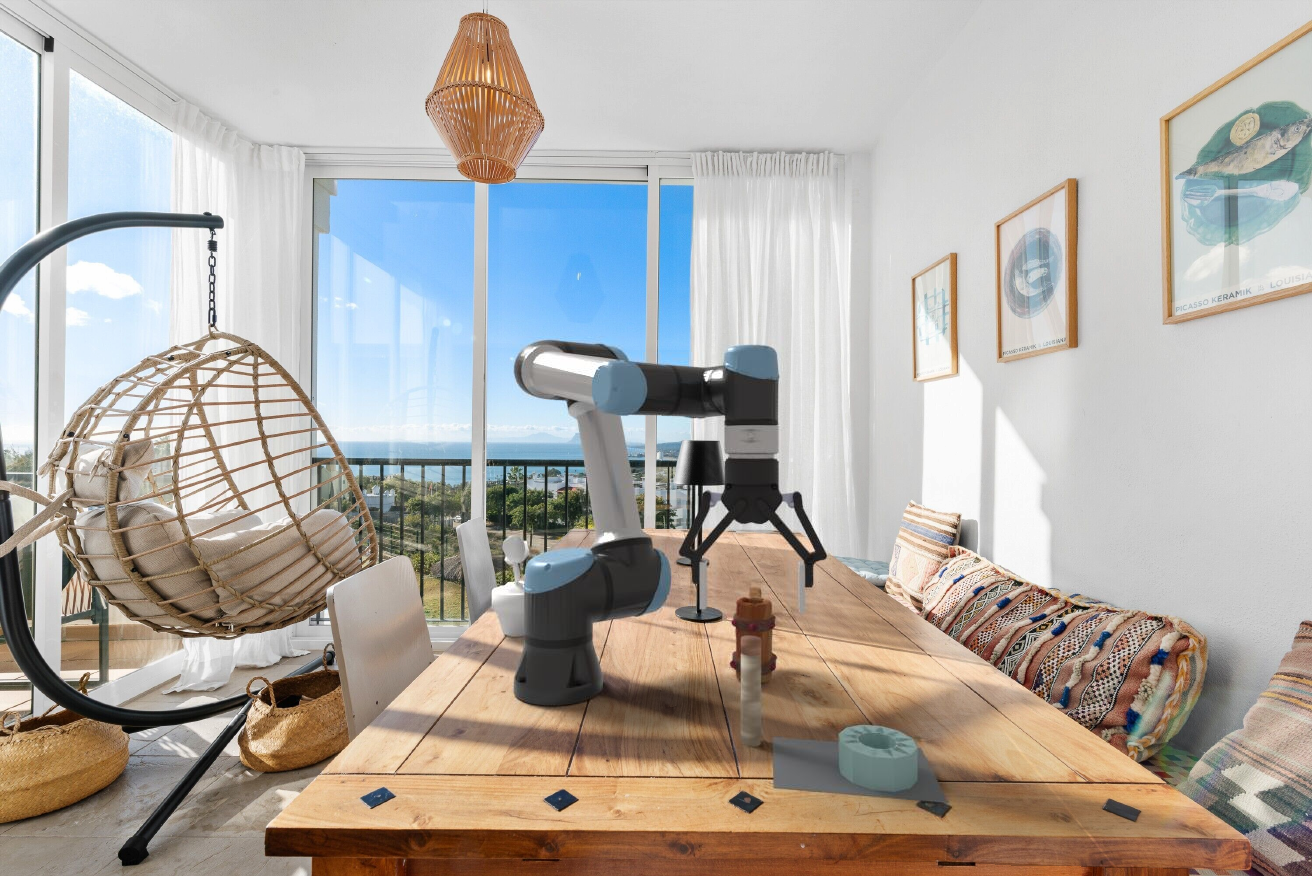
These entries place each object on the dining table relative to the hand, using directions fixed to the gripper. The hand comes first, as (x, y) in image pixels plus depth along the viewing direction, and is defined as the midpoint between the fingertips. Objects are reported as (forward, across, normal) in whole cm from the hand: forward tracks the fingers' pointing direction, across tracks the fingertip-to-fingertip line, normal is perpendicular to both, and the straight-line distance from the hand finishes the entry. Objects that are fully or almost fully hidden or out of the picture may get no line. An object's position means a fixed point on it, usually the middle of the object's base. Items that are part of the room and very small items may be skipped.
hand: (751, 609), depth 93 cm
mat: (+19, +13, -5) cm, 24 cm away
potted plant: (+19, -52, +47) cm, 73 cm away
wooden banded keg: (+19, 0, +29) cm, 35 cm away
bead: (+19, +16, -6) cm, 25 cm away
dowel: (+19, 0, 0) cm, 19 cm away
